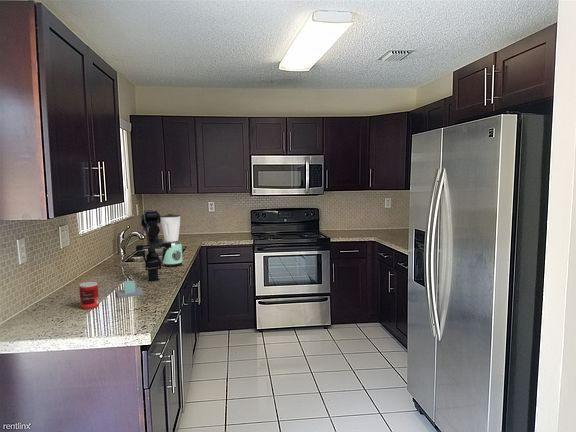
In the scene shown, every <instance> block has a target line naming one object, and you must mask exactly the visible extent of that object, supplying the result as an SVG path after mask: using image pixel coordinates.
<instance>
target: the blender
mask: <svg viewBox="0 0 576 432" xmlns="http://www.w3.org/2000/svg"><path fill="white" fill-rule="evenodd" d="M160 218H161V222H160V224H161V229H162V233H163V239H164V240H163V242H170V243H171V247H172V248H169V249H168V250H167V251H166V253H165V257H164V260H163V261H162V265H163V266H164V265H165V266H164V267H166V266H167V267H168V268H172V267H174V266H180V265H181V266H183V262H184V260H183V259H184V258H183V245H182V242H181V241H180V239H179V238H180V227H181V215H180V214H172V213H170V214H166V215H160ZM162 250H163V247H161V251H162Z"/></svg>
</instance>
